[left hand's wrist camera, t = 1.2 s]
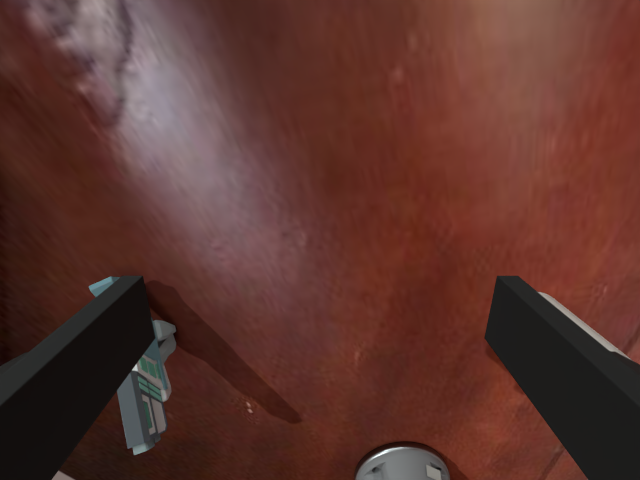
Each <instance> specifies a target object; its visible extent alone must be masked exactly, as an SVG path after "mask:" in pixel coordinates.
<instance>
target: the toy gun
mask: <svg viewBox="0 0 640 480" xmlns="http://www.w3.org/2000/svg"><path fill="white" fill-rule="evenodd" d="M119 278H120V277H109V278H106V279H104V280H102V281H100V282H98V283H95V284H93V285H91V286H89V288H90V291H91V292H92V293H93V294H94V295H95V296H96V297H97V296H98V295H99V294H101V293H102V292H103V291H104V290H106V289H107V288H108V287H109V286H110V285H112V284H113V283H114V282H115V281H117V280H118V279H119ZM151 319H152V317H151ZM152 323H153V328H154V333H155V339H154V341H153V342H152V344H151V345H150V346H149V348H148V349H147V350H146V352H145V353H144V354H143V356H142V357H141V358H140V360H139V361H138V363H137V364H136V365H135V367H134V368H133V369H132V371H131V372H130V373H129V375H128V376H127V378H126V379H125V380H124V382H123V383H122V384H121V386H120V387H119V388H118V390H117V393H118V398H119V404H120V409H121V414H122V420H123V425H124V431H125V436H126V441H127V447H128V448H131V447H133V452H134V455H136V454H139V453H142V452H145V451H147V450H149V449H151V448H152V447H154V446H155V445H154V443H156V442H158V441H159V440H161V438H160V434H161V433H163V432H165V431H166V430H167V425H168V424H167V420H166V415H165V410H164V406H163V402H164V401H166V400H168V398H169V396H170V393H171V385H170V382H169V380H168V376H167V373H166V370H165V366H164V362H165V361H166V360H167V357H168V356H169V355H170V354H171V353H173V352H174V350H175V349H176V341H175V338H174V335H173V333H175V332H176V328H175V325H172V324H170V323H167V322H165V321H160V320H155V321H153V320H152Z"/></svg>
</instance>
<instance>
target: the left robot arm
mask: <svg viewBox="0 0 640 480" xmlns="http://www.w3.org/2000/svg"><path fill="white" fill-rule="evenodd" d="M154 339H155V333H154V328H153V323H152V319H151V314H150V309H149V304H148V299H147V294H146V289H145V284H144V279H143V276H121V277H120V278H119V279H118V280H117V281H115V282H114V283H113V284H112V285H110V286H109V287H108V288H107V289H106V290H104V291H103V292H102V293H101V294H99V295H98V296H97V297H96V298H95V299H93V300H92V301H91V302H90V303H88V304H87V305H86V306H85V307H83V308H82V309H81V310H80V311H79V312H77V313H76V314H75V315H74V316H72V317H71V318H70V319H69V320H68V321H66V322H65V323H64V324H63V325H61V326H60V327H59V328H58V329H57V330H55V331H54V332H53V333H52V334H50V335H49V336H48V337H47V338H46V339H44V340H43V341H42V342H41V343H39V344H38V345H37V346H36V347H35V348H33V349H32V350H31V351H30V352H28V353H24V354H22V355H20V356H18V357H16V358H14V359H13V360H11V361H9V362H7V363H5V364H3V365H2V366H1V367H0V480H52V478H53V477H54V476H55V474H56V473H57V471H58V470H59V469H60V467H61V466H62V465H63V463H64V462H65V461H66V459H67V458H68V457H69V455H70V454H71V452H72V451H73V450H74V448H75V447H76V446H77V444H78V443H79V442H80V440H81V439H82V437H83V436H84V435H85V433H86V432H87V431H88V429H89V428H90V427H91V425H92V424H93V422H94V421H95V420H96V418H97V417H98V416H99V414H100V413H101V412H102V410H103V409H104V408H105V406H106V405H107V403H108V402H109V401H110V399H111V398H112V397H113V395H114V394H115V393H116V391H117V390H118V388H119V387H120V386H121V384H122V383H123V382H124V380H125V379H126V378H127V376H128V375H129V373H130V372H131V371H132V369H133V368H134V367H135V365H136V364H137V363H138V361H139V360H140V358H141V357H142V356H143V354H144V353H145V352H146V350H147V349H148V348H149V346H150V345H151V344H152V342H153V341H154ZM485 339H486V341H487V342H488V344H489V345H490V346H491V348H492V349H493V350H494V352H495V353H496V354H497V356H498V357H499V358H500V360H501V361H502V363H503V364H504V365H505V367H506V368H507V369H508V371H509V372H510V373H511V375H512V376H513V378H514V379H515V380H516V382H517V383H518V384H519V386H520V387H521V388H522V390H523V391H524V393H525V394H526V395H527V397H528V398H529V399H530V401H531V402H532V403H533V405H534V406H535V408H536V409H537V410H538V412H539V413H540V414H541V416H542V417H543V418H544V420H545V421H546V422H547V424H548V425H549V427H550V428H551V429H552V431H553V432H554V433H555V435H556V436H557V437H558V439H559V440H560V442H561V443H562V444H563V446H564V447H565V448H566V450H567V451H568V452H569V454H570V455H571V457H572V458H573V459H574V461H575V462H576V463H577V465H578V466H579V467H580V469H581V470H582V471H583V473H584V474H585V476H586V477H587V478H588V480H640V365H639V364H638V363H636V362H634V361H632V360H630V359H628V358H626V357H625V356H623V355H621V354H619V353H617V352H615V351H609V350H608V349H607V348H605V347H604V346H603V345H602V344H601V343H599V342H598V341H597V340H596V339H594V338H593V337H592V336H591V335H590V334H588V333H587V332H586V331H585V330H583V329H582V328H581V327H580V326H579V325H577V324H576V323H575V322H574V321H572V320H571V319H570V318H569V317H568V316H566V315H565V314H564V313H563V312H561V311H560V310H559V309H558V308H557V307H555V306H554V305H553V304H552V303H550V302H549V301H548V300H547V299H545V298H544V297H543V296H542V295H541V294H539V293H538V292H537V291H536V290H534V289H533V288H532V287H531V286H530V285H528V284H527V283H526V282H525V281H523V280H522V279H521V278H520V277H519V276H497V279H496V284H495V289H494V294H493V299H492V304H491V309H490V314H489V319H488V323H487V328H486V333H485ZM354 476H355V480H450V475H449V472H448V469H447V466H446V463H445V461H444V459H443V458H442V457H441V455H440V454H439V453H438V452H436V451H435V450H434V449H432V448H430V447H428V446H425V445H423V444H419V443H414V442H395V443H390V444H386V445H383V446H380V447H378V448H376V449H374V450H372V451H370V452H369V453H368V454H366V455H365V456H364V457H363V458H362V459H361V460H360V462H359V463H358V465H357V467H356V470H355V475H354Z"/></svg>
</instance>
